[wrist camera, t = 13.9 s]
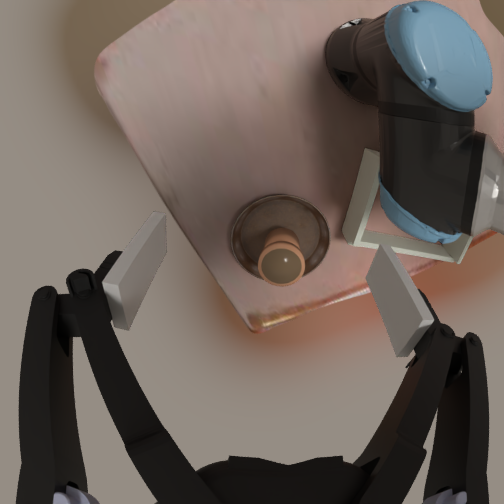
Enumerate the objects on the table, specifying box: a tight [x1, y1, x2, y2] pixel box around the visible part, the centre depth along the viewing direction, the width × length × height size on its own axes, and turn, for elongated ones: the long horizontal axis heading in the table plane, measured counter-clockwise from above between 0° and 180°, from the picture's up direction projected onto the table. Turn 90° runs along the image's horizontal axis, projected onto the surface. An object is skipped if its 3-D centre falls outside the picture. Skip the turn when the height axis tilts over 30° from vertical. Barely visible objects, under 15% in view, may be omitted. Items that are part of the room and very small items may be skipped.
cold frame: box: [341, 148, 473, 264], centre depth 42 cm, size 16×26×9 cm, turn 82°
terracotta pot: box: [258, 228, 305, 286], centre depth 45 cm, size 7×7×8 cm
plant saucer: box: [231, 195, 331, 280], centre depth 50 cm, size 18×18×3 cm
